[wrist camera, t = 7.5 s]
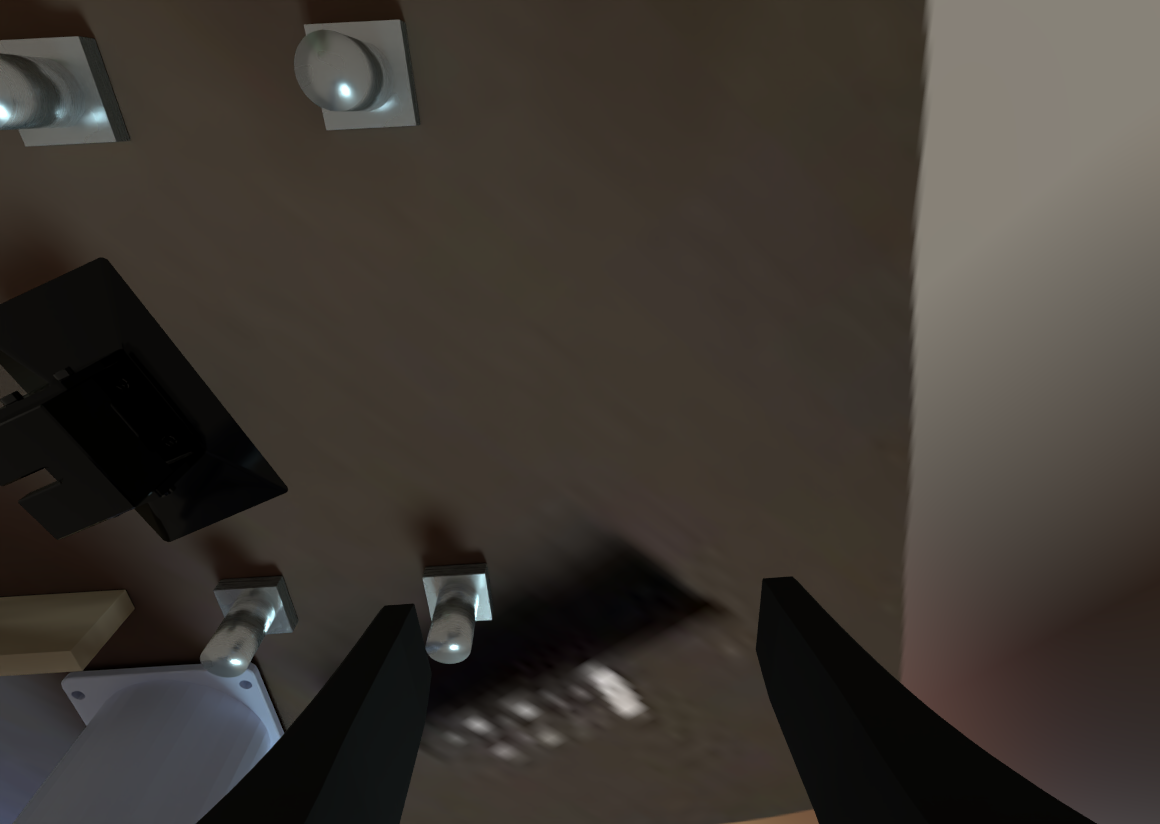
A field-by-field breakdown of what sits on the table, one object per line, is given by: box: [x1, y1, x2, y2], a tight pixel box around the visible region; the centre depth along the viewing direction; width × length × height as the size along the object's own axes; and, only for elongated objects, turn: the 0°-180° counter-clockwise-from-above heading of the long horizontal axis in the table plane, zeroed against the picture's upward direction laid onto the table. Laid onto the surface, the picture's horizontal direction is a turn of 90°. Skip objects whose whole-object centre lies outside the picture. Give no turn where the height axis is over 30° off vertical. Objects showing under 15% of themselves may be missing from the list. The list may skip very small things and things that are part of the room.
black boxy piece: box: [0, 258, 288, 542], centre depth 19 cm, size 12×7×5 cm, turn 23°
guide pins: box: [0, 20, 493, 678], centre depth 19 cm, size 20×10×3 cm, turn 3°
